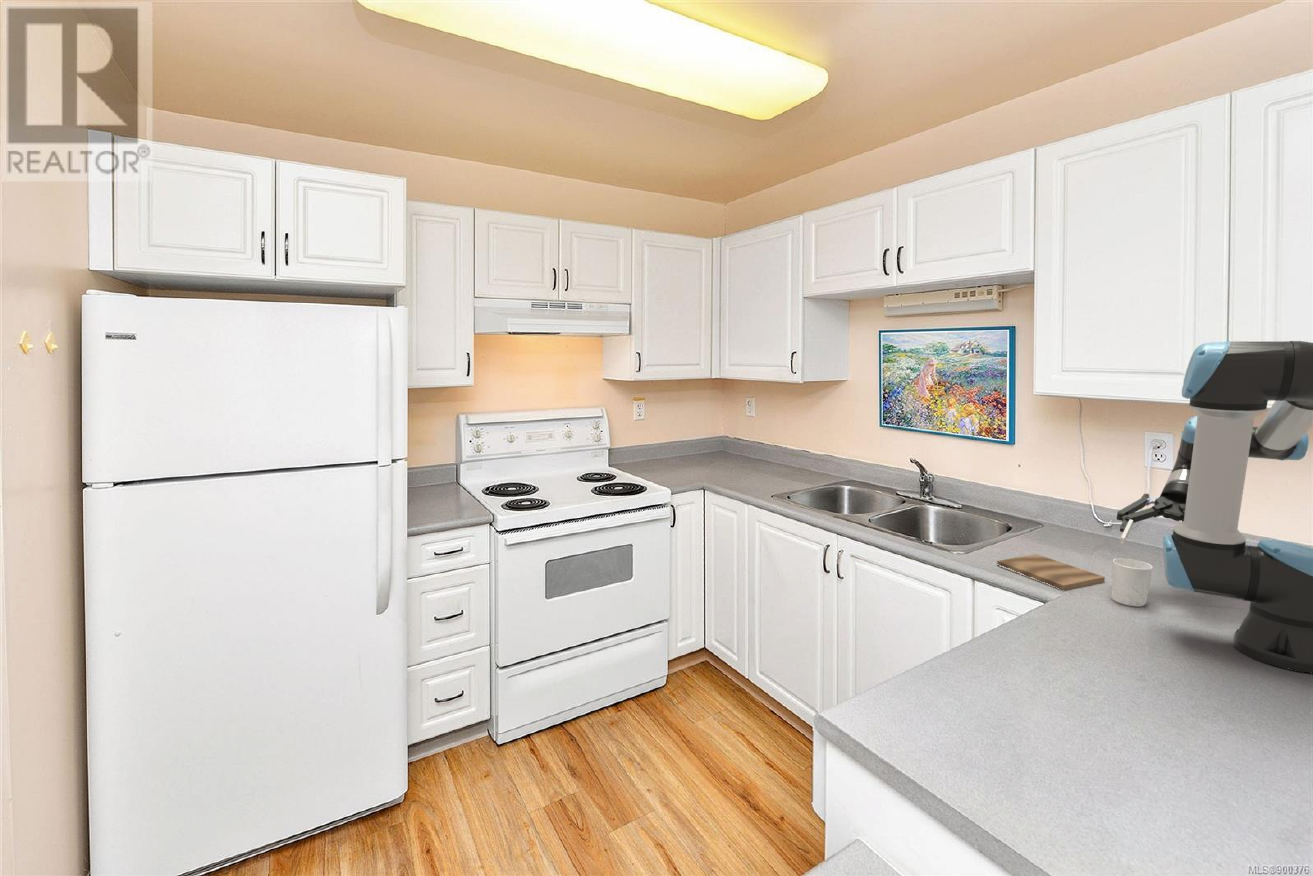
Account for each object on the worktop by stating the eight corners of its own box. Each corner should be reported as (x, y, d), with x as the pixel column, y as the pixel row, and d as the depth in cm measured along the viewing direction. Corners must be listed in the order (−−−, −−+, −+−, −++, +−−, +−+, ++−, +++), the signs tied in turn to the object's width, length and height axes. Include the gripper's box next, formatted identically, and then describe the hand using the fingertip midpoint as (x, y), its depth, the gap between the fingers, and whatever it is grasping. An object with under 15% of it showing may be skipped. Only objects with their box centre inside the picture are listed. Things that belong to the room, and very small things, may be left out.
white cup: (1155, 609, 148) (1160, 570, 146) (1118, 606, 149) (1123, 568, 148) (1136, 596, 155) (1141, 559, 154) (1102, 594, 157) (1106, 557, 156)
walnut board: (1104, 582, 165) (1104, 577, 165) (1063, 590, 159) (1063, 585, 159) (1035, 558, 183) (1036, 554, 183) (996, 565, 178) (997, 560, 178)
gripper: (1245, 517, 148) (1220, 581, 140) (1122, 486, 166) (1094, 542, 158) (1252, 497, 144) (1227, 562, 136) (1125, 467, 161) (1096, 524, 153)
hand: (1155, 551), depth 147 cm, fingers open, 13 cm apart
